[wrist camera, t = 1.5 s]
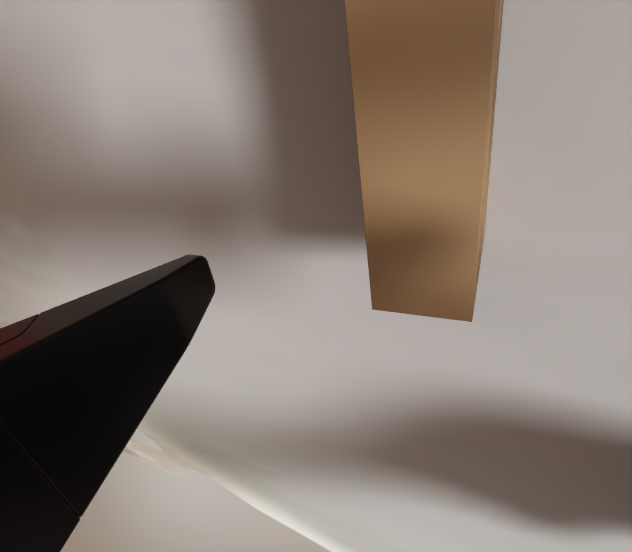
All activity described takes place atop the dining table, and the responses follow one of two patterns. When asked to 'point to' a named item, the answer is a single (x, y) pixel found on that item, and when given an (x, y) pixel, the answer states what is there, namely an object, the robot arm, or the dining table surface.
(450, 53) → the rail
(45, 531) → the robot arm
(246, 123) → the dining table surface
